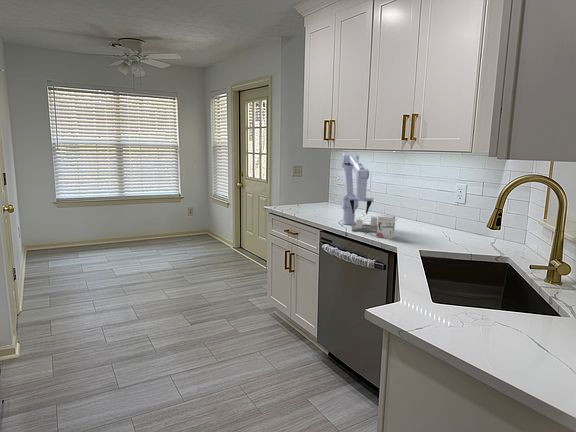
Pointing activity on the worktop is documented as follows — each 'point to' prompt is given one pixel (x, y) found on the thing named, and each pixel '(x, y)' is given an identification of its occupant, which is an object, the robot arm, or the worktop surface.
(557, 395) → the worktop surface
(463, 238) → the worktop surface
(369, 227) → the console
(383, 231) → the ink box
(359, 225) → the near fader knob
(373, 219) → the far fader knob
